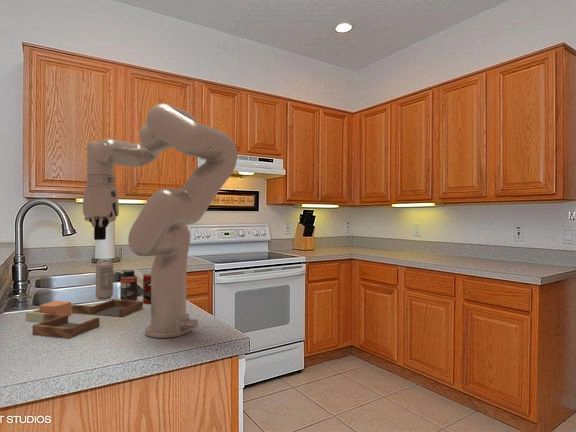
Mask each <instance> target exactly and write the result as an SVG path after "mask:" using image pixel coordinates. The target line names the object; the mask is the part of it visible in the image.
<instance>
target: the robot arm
mask: <svg viewBox="0 0 576 432" xmlns="http://www.w3.org/2000/svg"><path fill="white" fill-rule="evenodd" d="M145 121H146V122H145V123H146V124H145V123H144V125H142V126H141V127H140V129H139V139H140V142H137V143H132V142H130V141H125V140H120V139H115V138H104V139H102V140H100V141H91V142H89V143H88V144H87V145H86V146H87V148H86V159H87V160H86V185H85V188H84V192H83V198H82V199H83V200H82V213H83V214H82V215H83V216H84V218H83V219H84V221H86V222H89V223H90V224H91V225H92V228H93V239H94V241H101V240H106V239H107V237H106V236H107V227H108V225H109V224H111V223H112V222H115V221H117V217H118V216H119V213H120V211H119V209H120V208H119V195H118V190H117V187H116V186H114V183H116V182H117V179H116V177H114V175H115V174H114V173H115V171H114V167H115V166H123V167H131V168H138V167H142V166H144V165H148V164H150V163H153V162H154V161H156V159H157V158H158V157H159V155H160V154H161V152H162V151H165V150H167V149H170V148H174V149H175V150H177V151H178V152H180V153H182V154H184V155H185V156H190V157H193V158H199V159H203V160H205V161H204V163H202V164H201V165H200V166H198V167H197V168H196V169H194V171H193V172H192V173H191V174H190V176H189V177H188V179H187V180H186V182H185V184H183V186H182V187H180V188H170V187H167V188H162V189H158V190H156V192H154V193H153V194H151V196H150V197H149V198H148V200H147V201H146V203H145V205H144V206H143V207H142V210H141V211H140V213H139V214H138V216H137V218H136V219H135V221H134V223H133V224H132V225H131V228H130V230H129V234H128V240H127V243H128V246H129V249H130V250H131V252H132V253H134V254H135V255H137V256H140V257H154V260H153V262H152V266H151V271H150V272H151V304H150V324H149V325H147V326H146V327H145V328H144V334H145V335H146V336H147V337H149V338H155V339H156V338H157V339H169V338H176V337H180V336H183V335H186V334H188V333H189V332H190V331H191V332H192V329H197V328H198V325H199V323H198V322H199V321H198V319H194V318H193V319H191V318H190V313H187V270H188V269H187V268H188V267H187V265H188V254H189V249H190V244H191V233H190V230H189V227H188V226H187V225H193V224H195V223H197V222H199V221H200V220H201V218H202V217H203V216H204V215H205V213H206V211H207V210H208V208H209V207H210V205H211V204H212V202H213V201H214V200H215V198H216V197H217V194H218V193H219V192H220V190H221V188H223V186H224V185H225V183H226V182H227V181H228V180H229V178H230V176H232V174H233V172H234V170H235V168H236V165H237V161H238V150H237V146H236V144H235V141H234V140H233V138H231V136H230V135H229V134H227V133H226V132H223V131H222V130H220V129H218V128H215V127H211V126H208V125H206V124H203V123H200V122H198V121H197V119H196V117H195V116H194V115H193V114H192V113H190V112H188V111H186V110H184V109H182V108H178V107H176V106H173V105H170V104H168V103H157V104H156V105H153V106H152V107H150V109H149V111H148V112H147V114H146V118H145Z"/></svg>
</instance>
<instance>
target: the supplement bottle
mask: <svg viewBox="0 0 576 432" xmlns="http://www.w3.org/2000/svg"><path fill="white" fill-rule="evenodd" d="M122 273H123V274H122V276H121V277H120V300H129V301H137V299H138V276H137V275H135V270H134V269H127V270H123V271H122Z"/></svg>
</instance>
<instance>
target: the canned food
mask: <svg viewBox="0 0 576 432" xmlns="http://www.w3.org/2000/svg"><path fill="white" fill-rule="evenodd" d="M142 277H143V278H142V288H143V289H142V301H143V304H146V305H151V271H146V272H144V273H143V275H142Z"/></svg>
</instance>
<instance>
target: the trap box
mask: <svg viewBox="0 0 576 432" xmlns="http://www.w3.org/2000/svg"><path fill="white" fill-rule="evenodd" d="M143 309H144V302H143V300H142V301H141V300H140V301H139V300H133V301H129V300H121V299H110V300H106V301H103V302H102V303H98V304H95V305H85V304H84V305H83V304H82V305H81V304H72V303H71V314H82V315H94V316H106V317H117V318H123V317H126V316H128V315H130V314H133V313H135V312H138V311H140V310H143ZM25 321H27V322H34V323H35V322H37V324H33V325H32V336H43V337H52V338H62V339H72V338H74V337H76V336H79V335H82V334H84V333H87V332H88V331H91V330H93V329H97V328H99V327H100V317H94V318H93V319H89V320H87V321H83V322H81V323H75V322H69V316H68V315H61V314H49V313H40V308H38V309H34V310H30V311H28V312H27V311H26V312H25ZM38 322H39V323H38Z"/></svg>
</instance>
